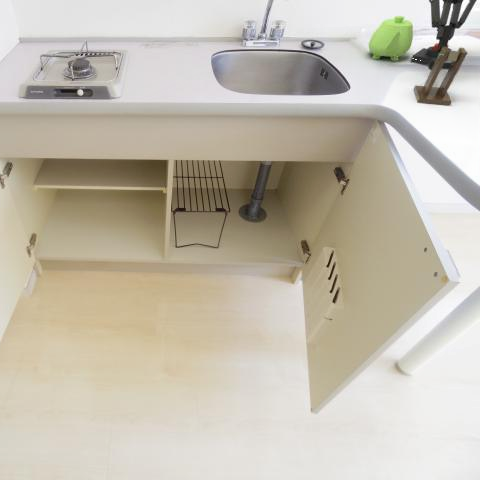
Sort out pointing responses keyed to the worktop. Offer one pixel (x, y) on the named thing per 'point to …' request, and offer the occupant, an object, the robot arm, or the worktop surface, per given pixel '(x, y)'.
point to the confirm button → (437, 46)
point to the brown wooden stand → (440, 93)
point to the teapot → (392, 38)
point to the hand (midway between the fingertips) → (441, 49)
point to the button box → (428, 57)
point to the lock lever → (450, 59)
